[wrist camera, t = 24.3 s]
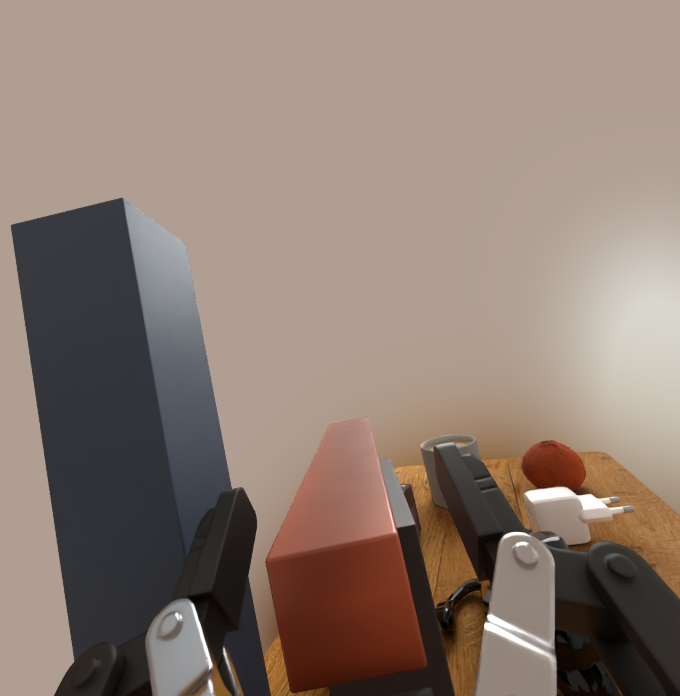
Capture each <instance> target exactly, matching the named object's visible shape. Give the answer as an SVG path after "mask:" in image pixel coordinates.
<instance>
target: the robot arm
mask: <svg viewBox="0 0 680 696" xmlns="http://www.w3.org/2000/svg"><path fill="white" fill-rule="evenodd" d="M433 451H434V460H435V469H436V476H437V480H438V484H439V487H440V490H441V492H442V494H443V497H444V499H445V502H446V504H447V506H448V509H449V511H450V513H451V516H452V518H453V520H454V523H455V525H456V528H457V530H458V532H459V535H460V537H461V539H462V542H463V544H464V546H465V549H466V551H467V554H468V556H469V558H470V561H471V563H472V565H473V568H474V570H475V573H476V575H477V577H478V580H479V582H481V581H486V580H489V582H490V585H491V587H492V591H491V598H490V604H489V611H488V616H487V619H486V622H485V626H484V632H483V638H482V644H481V651H480V658H479V664H478V671H477V677H476V684H475V691H474V696H557V666H556V653H555V643H554V639H555V630H560V631H565V632H570V633H575V634H579V635H584V636H587V637H588V638H589V640H590V642H591V643H592V645H593V647H594V648H595V650H596V652H597V653H598V655H599V657H600V658H601V660H602V662H603V663H604V665H605V667H606V668H607V670H608V672H609V673H610V675H611V677H612V678H613V680H614V682H615V683H616V685H617V687H618V688H619V690H620V692H621V693H622V695H623V696H680V599H679V598H678V597H677V596H676V594H675V593H674V592H673V591H672V590H671V589H670V588H669V587H668V585H667V584H666V583H665V582H664V581H663V580H662V579H661V578H660V576H659V575H658V574H657V573H656V572H655V571H654V570H653V569H652V567H651V566H650V565H649V564H648V563H647V562H646V561H645V560H644V559H643V558H642V557H641V556H639V555H638V554H637V553H635V552H634V551H632V550H630V549H629V548H627V547H624V546H622V545H619V544H616V543H612V542H599V543H595V544H594V545H592V546H591V547H590V548H589V550H588V553H587V552H580V551H573V550H565V549H558V548H554V547H551V546H548V545H546V544H543V543H542V542H541V541H540V540H538V539H537V538H535V537H533V536H531V535H530V534H529V533H528V532H527V531H526V530H525V528H524V527H523V525H522V524H521V522H520V521H519V519H518V517H517V516H516V514H515V513H514V511H513V509H512V508H511V506H510V505H509V503H508V501H507V500H506V498H505V497H504V495H503V493H502V492H501V490H500V489H499V488H498V486H497V484H496V482H495V481H494V479H493V477H491V474H490V473H489V471H488V469H487V468H486V466H485V465H484V463H483V462H482V461H481V460H479V459H478V458H477V457H475V456H474V455H473V454H471V453H470V454H465V455H461V454H460V453H459V451H458V449H457V447H456V446H455V444H454V443H453V442H450V443H445V444H440V445H436V446H433ZM256 530H257V518H256V513H255V511H254V509H253V507H252V505H251V503H250V501H249V499H248V497H247V495H246V493H245V491H244V489H243V488H242V487H239V488H235V489H230V490H225V491H222V492H221V493H220V495H219V498H218V501H217V504H216V507H215V508H210V509H209V510H208V511H207V512H206V514H205V515H204V517H203V518H202V519H201V521H200V522H199V525H198V528H197V530H196V533H195V536H194V540H193V542H192V544H191V547H190V552H189V553H188V555H187V558H186V561H185V564H184V567H183V569H182V572H181V575H180V578H179V581H178V583H177V586H176V589H175V592H174V594H173V597H172V600H171V602H170V603H169V604H168V605H167V606H165V607H164V608H163V609H162V610H161V611H160V612H159V613H158V615H157V616H156V617H155V619H154V620H153V622H152V623H151V625H150V627H149V629H147V630H146V631H144V632H143V633H141V634H139V635H137V636H136V637H134V638H132V639H130V640H128V641H127V642H125V643H123V644H121V645H120V646H118V647H115V646H114V645H113V644H111V643H110V642H100V643H97V644H95V645H93V646H92V647H90V648H88V649H87V650H86V651H85V652H83V653H82V654H81V655H80V656H79V657H78V658H77V659H76V660H75V661H74V663H73V664H72V665H71V667H70V668H69V669H68V671H67V672H66V674H65V676H64V677H63V679H62V681H61V683H60V685H59V687H58V689H57V691H56V693H55V695H54V696H244V694H243V691H242V688H241V685H240V682H239V680H238V677H237V674H236V671H235V668H234V666H233V663H232V660H231V657H230V654H229V651H228V649H227V647H226V645H225V644H224V641H225V636H226V633H227V632H232V631H237V630H239V624H240V619H241V613H242V607H243V602H244V596H245V591H246V585H247V580H248V574H249V569H250V563H251V558H252V552H253V546H254V541H255V535H256ZM391 696H433V693H432V689H431V687H430V688H425V689H420V690H414V691H409V692H403V693H398V694H393V695H391Z"/></svg>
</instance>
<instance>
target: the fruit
mask: <svg viewBox="0 0 680 696" xmlns="http://www.w3.org/2000/svg"><path fill="white" fill-rule="evenodd" d="M522 470H523V473H524V474H525V476H526V477H527V479H528V480H529V481H530V482H531V483H532V484H534V485H535V486H537V487H539V488H541V489H545V488H553V487H566V488H568V489H570V490H571V491H574V490H576V489H577V488H579V487H580V486H581V484H582V483H583V482H584V480H585V477H586V471H585V467H584V465H583V462H582V460H581V459H580V457H579V456H578V455H577V454H576V453H575V452H574V451H573V450H571V449H570V448H569V447H567V446H565V445H563V444H561V443H558V442H556V441H552V440H551V441H542V442H540V443H537V444H535V445H533V446H532V447H531V448H530V449H529V450H528V451H527V452H526V454H525V455H524V457H523V460H522Z"/></svg>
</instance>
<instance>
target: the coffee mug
mask: <svg viewBox="0 0 680 696" xmlns="http://www.w3.org/2000/svg"><path fill="white" fill-rule="evenodd" d="M450 442H453V443H454V444H455V446H456V447H457V449H458V451H459V453H460V454H461V455H465V454H470V453H471V454H473V455H474V456H475V457H477V458H478V459H479V460H481V458H480V454H479V450H478V446H477V442H476V439H475V437H473V436H471V435H465V434H453V435H445V436H440V437H436V438H432V439H429V440H427V441H425V442H424V443H422V444H421V451H422V456H423V460H424V464H425V468H426V473H427V477H428V481H429V485H430V490H431V494H432V498H433V501H434V503H435V504H436V505H438V506H440V507H443V508H446V509H448V506H447V504H446V502H445V499H444V497H443V494H442V492H441V490H440V487H439V484H438V480H437V476H436V469H435V460H434V451H433V446H436V445H440V444H445V443H450Z"/></svg>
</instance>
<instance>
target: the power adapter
mask: <svg viewBox="0 0 680 696" xmlns="http://www.w3.org/2000/svg"><path fill="white" fill-rule="evenodd" d="M523 498H524V503H525V507H526V511H527V515H528V519H529V522H530V526H531V529H532V531H533V532H534V533H536V532H541V531H550V532H553V533H555V534H557V535H559V536H561V537H562V538H563V539H564V540H565V542H566V543H567V545H573V544H582V543H587V542H589V541H590V537H591V535H590V530H589V526H588V523H596V522H606V521H612V519H613V516H612V514H618V513H630V512H634V511H635V509H634V508H633V507H632V506H623V507H617V508H608V507H607V506H606V505H605V504H609V503H610V504H611V503H619V502H620V498H619V497H608V498H603V499H597V498H595V497H594V496H593V495H591V494H587V495H579V496H577V495H576V494H575V493H574V492H572V491H571V490H570V489H568V488H566V487H553V488H545V489H537V490H531V491H527V492H525V493H524V497H523Z"/></svg>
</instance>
